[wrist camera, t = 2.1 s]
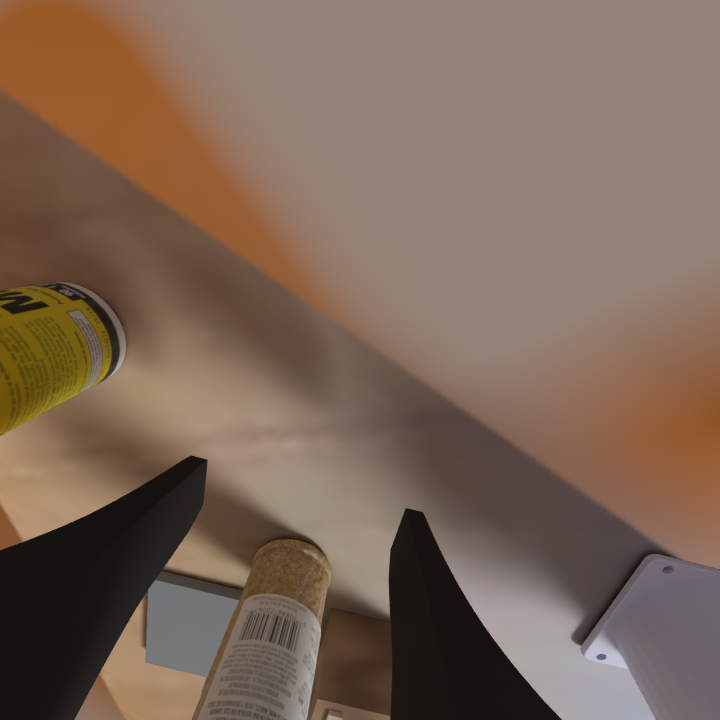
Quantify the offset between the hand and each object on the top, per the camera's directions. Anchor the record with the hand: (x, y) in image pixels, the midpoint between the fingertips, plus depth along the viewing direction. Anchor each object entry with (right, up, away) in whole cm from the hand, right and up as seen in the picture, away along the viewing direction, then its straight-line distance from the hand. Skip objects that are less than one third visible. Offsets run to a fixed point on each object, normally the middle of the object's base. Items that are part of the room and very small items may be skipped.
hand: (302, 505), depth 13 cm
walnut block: (+2, -12, +10) cm, 16 cm away
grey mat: (-7, -12, +10) cm, 17 cm away
